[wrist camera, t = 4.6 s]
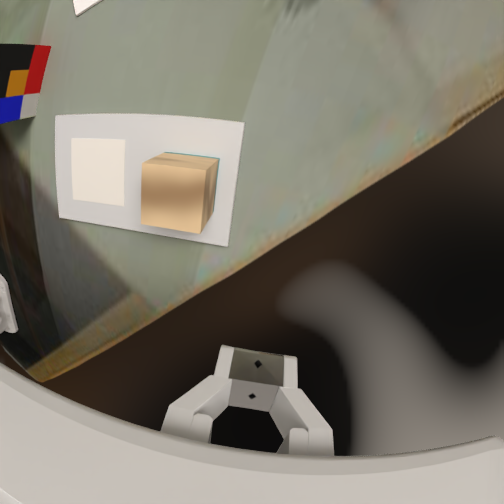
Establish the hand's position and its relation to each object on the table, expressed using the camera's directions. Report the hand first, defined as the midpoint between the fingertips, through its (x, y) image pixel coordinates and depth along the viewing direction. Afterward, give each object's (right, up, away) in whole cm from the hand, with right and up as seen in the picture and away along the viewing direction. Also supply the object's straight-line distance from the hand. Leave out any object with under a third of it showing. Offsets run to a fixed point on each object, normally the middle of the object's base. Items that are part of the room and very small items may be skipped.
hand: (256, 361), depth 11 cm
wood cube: (-7, +12, +20) cm, 24 cm away
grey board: (-14, +14, +21) cm, 28 cm away
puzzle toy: (-32, +29, +15) cm, 46 cm away
